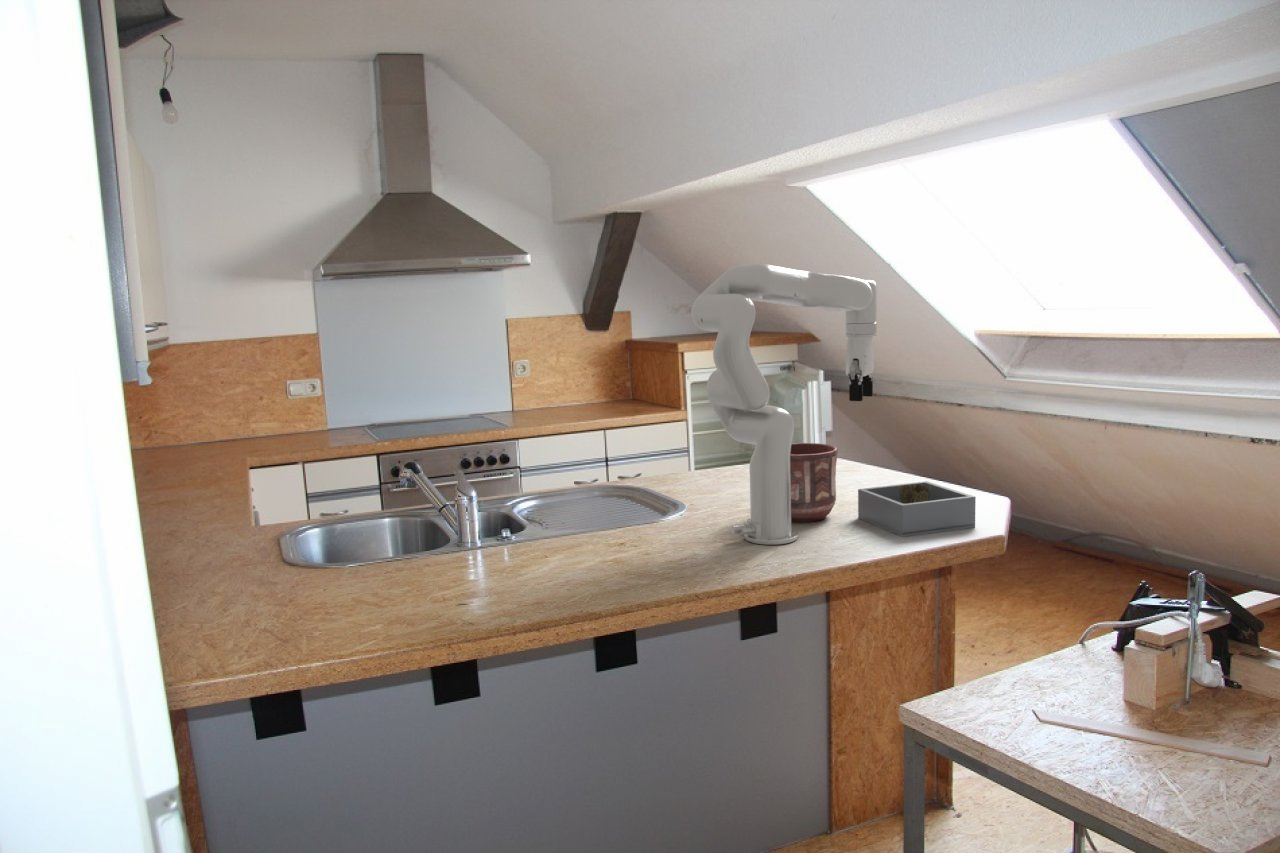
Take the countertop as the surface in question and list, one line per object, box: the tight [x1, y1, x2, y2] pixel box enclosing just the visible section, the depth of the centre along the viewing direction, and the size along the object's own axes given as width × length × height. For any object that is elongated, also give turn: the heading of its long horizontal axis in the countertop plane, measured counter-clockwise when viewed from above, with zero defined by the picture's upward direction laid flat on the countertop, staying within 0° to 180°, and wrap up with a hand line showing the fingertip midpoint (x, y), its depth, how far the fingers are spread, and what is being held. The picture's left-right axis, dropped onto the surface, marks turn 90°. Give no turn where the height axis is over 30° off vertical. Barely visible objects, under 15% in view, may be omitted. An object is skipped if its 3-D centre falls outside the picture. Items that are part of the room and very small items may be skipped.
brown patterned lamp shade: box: [899, 483, 931, 504], centre depth 237 cm, size 8×7×8 cm
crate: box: [857, 480, 976, 538], centre depth 237 cm, size 20×20×8 cm
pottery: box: [790, 442, 839, 524], centre depth 246 cm, size 18×18×18 cm
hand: (861, 398), depth 242 cm, fingers open, 9 cm apart
